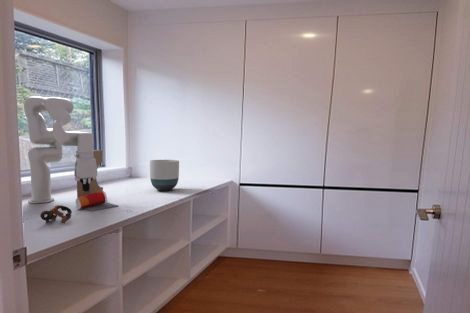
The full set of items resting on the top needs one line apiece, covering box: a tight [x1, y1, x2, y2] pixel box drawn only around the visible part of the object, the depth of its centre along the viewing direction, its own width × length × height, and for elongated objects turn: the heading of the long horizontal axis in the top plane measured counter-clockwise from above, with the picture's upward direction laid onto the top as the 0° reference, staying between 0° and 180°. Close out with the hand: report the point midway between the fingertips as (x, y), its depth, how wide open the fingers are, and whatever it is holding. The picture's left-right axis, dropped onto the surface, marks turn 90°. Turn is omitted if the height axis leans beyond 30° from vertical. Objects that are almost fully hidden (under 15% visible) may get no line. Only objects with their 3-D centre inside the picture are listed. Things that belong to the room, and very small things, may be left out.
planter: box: [149, 159, 180, 192], centre depth 215 cm, size 20×20×21 cm
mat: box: [81, 201, 119, 212], centre depth 162 cm, size 14×15×1 cm
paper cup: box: [75, 190, 108, 210], centre depth 160 cm, size 8×8×14 cm
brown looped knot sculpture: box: [40, 204, 73, 224], centre depth 131 cm, size 12×10×8 cm
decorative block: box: [75, 149, 104, 199], centre depth 173 cm, size 15×8×30 cm, turn 176°
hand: (85, 191), depth 156 cm, fingers closed
